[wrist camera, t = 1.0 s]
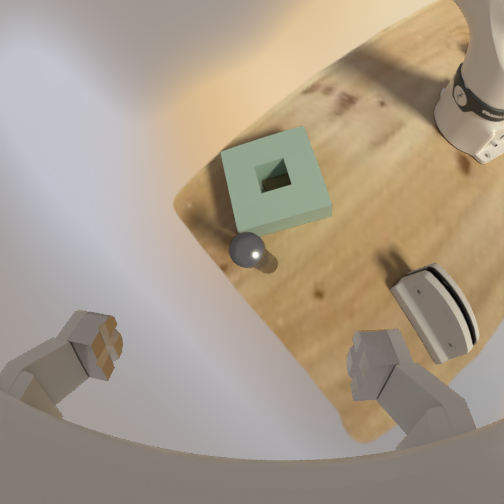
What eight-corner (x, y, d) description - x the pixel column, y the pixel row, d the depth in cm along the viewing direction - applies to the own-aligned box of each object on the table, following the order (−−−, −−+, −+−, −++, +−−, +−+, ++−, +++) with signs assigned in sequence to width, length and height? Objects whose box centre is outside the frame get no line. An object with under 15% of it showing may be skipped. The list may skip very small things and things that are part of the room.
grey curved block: (388, 287, 45) (420, 268, 35) (406, 272, 46) (438, 251, 36) (436, 366, 40) (474, 362, 31) (452, 348, 41) (490, 341, 32)
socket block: (306, 142, 52) (303, 125, 47) (331, 216, 49) (332, 204, 43) (230, 166, 55) (220, 152, 50) (247, 240, 52) (237, 232, 46)
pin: (277, 248, 50) (259, 227, 37) (284, 273, 49) (267, 261, 36) (253, 254, 51) (226, 237, 38) (258, 279, 50) (233, 270, 37)
